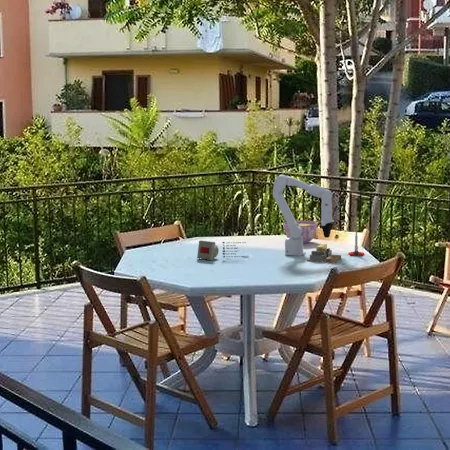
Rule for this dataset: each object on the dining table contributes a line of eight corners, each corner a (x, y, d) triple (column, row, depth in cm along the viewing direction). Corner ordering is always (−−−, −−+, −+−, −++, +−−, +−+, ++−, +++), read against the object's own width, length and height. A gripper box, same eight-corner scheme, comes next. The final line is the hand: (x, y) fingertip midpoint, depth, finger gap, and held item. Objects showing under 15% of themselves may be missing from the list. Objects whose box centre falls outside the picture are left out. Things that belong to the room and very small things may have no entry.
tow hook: (348, 253, 432) (348, 256, 423) (348, 230, 430) (348, 232, 421) (363, 253, 430) (364, 256, 421) (364, 230, 429) (364, 232, 420)
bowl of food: (319, 245, 457) (319, 225, 456) (284, 246, 458) (284, 226, 456) (315, 239, 477) (315, 220, 476) (282, 240, 478) (282, 221, 476)
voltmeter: (196, 261, 419) (195, 242, 418) (198, 257, 431) (197, 239, 429) (246, 260, 417) (245, 242, 416) (247, 256, 429) (246, 238, 427)
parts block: (326, 262, 407) (326, 258, 407) (331, 258, 417) (331, 254, 417) (335, 262, 405) (335, 259, 405) (341, 258, 415) (341, 255, 415)
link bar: (316, 253, 416) (316, 246, 415) (321, 250, 424) (321, 243, 423) (322, 253, 414) (322, 246, 414) (327, 250, 423) (326, 244, 422)
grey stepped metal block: (307, 261, 412) (306, 251, 411) (316, 255, 427) (316, 245, 427) (325, 262, 408) (325, 252, 407) (334, 256, 424) (334, 246, 423)
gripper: (330, 214, 417) (330, 239, 419) (337, 210, 430) (337, 235, 432) (317, 213, 420) (317, 239, 422) (324, 210, 433) (325, 234, 435)
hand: (326, 237), depth 427 cm, fingers closed
